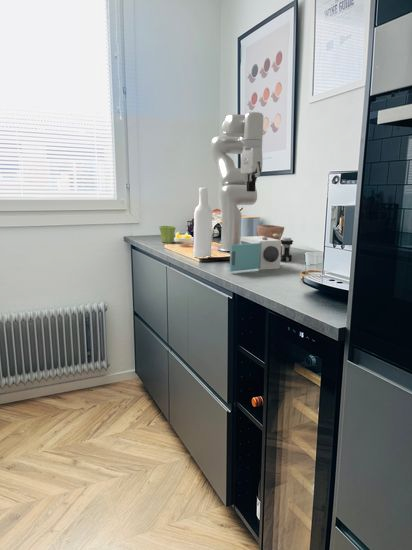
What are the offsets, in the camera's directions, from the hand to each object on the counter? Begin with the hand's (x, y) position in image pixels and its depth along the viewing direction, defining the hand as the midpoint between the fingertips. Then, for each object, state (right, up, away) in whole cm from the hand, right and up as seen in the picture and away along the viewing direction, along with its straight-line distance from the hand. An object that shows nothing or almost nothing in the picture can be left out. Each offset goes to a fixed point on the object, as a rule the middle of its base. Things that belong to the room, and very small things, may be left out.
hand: (250, 191), depth 170 cm
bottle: (-20, -27, +12) cm, 36 cm away
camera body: (+3, -31, -5) cm, 32 cm away
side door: (-4, -33, -18) cm, 37 cm away
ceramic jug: (+10, -27, +17) cm, 33 cm away
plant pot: (-40, -17, +55) cm, 70 cm away
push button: (+15, -29, +6) cm, 33 cm away
